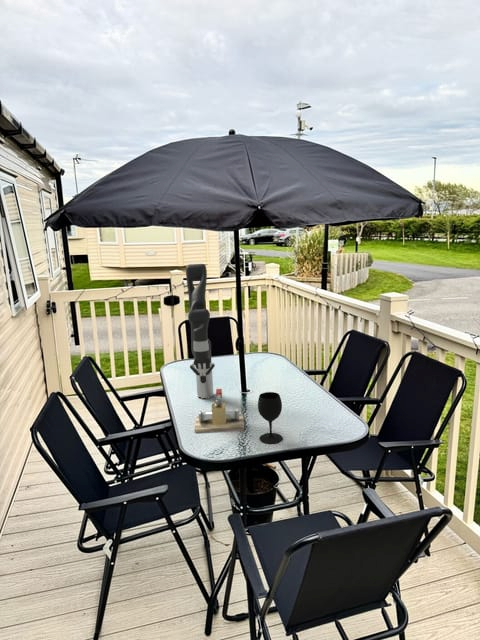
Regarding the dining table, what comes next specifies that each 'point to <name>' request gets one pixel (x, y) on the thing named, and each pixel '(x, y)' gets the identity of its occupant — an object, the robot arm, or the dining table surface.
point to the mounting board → (219, 425)
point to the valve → (219, 415)
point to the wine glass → (270, 415)
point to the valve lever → (218, 397)
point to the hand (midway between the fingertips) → (203, 382)
